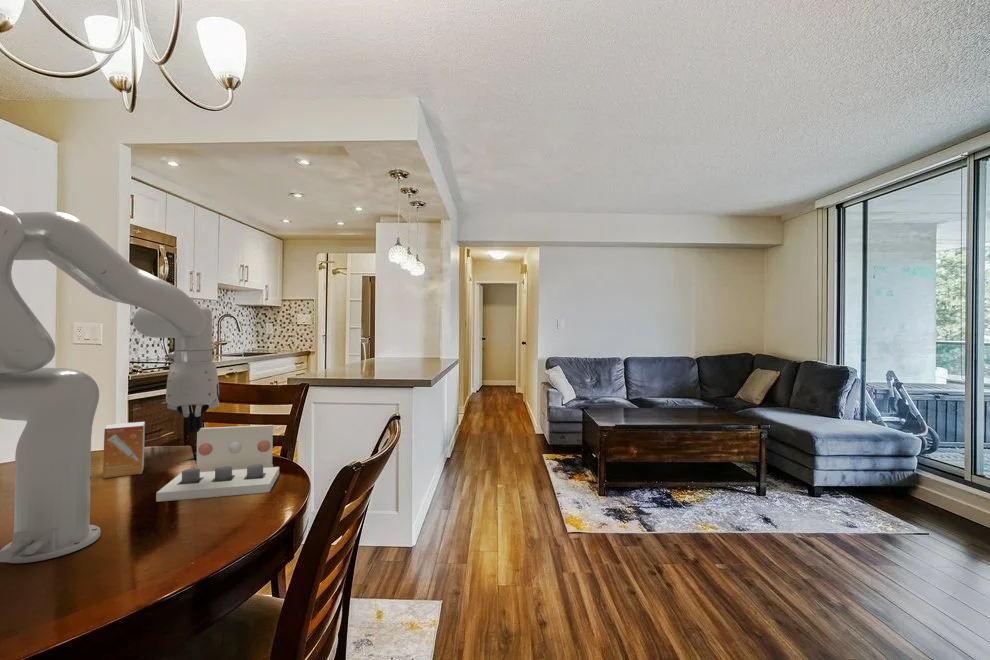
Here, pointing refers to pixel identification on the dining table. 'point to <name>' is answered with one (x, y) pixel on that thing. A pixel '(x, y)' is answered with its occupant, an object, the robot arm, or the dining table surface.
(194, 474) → the button
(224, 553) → the dining table surface
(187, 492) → the button board
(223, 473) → the button
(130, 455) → the small box
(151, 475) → the dining table surface
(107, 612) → the dining table surface
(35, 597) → the dining table surface
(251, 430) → the pattern card
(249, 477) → the button
